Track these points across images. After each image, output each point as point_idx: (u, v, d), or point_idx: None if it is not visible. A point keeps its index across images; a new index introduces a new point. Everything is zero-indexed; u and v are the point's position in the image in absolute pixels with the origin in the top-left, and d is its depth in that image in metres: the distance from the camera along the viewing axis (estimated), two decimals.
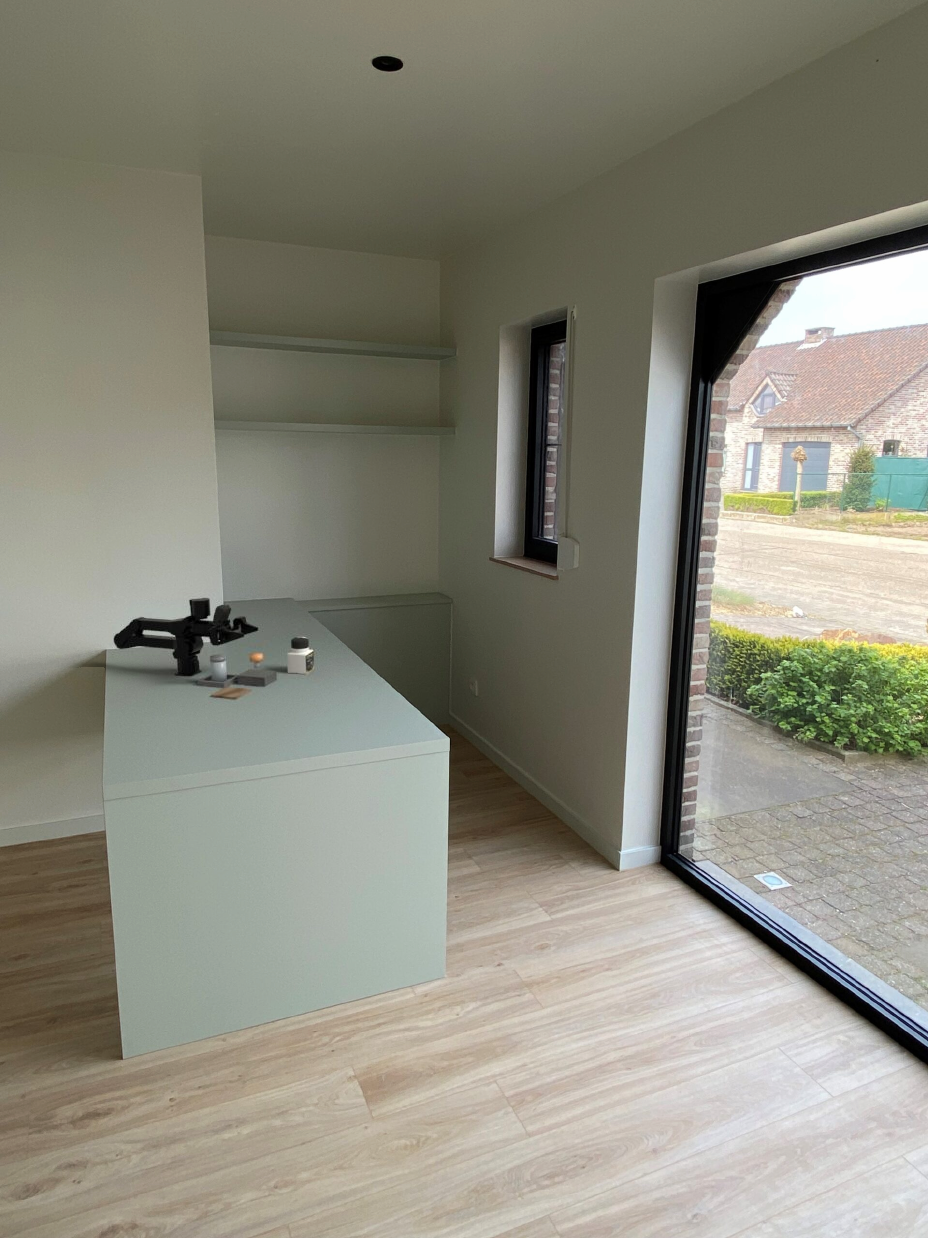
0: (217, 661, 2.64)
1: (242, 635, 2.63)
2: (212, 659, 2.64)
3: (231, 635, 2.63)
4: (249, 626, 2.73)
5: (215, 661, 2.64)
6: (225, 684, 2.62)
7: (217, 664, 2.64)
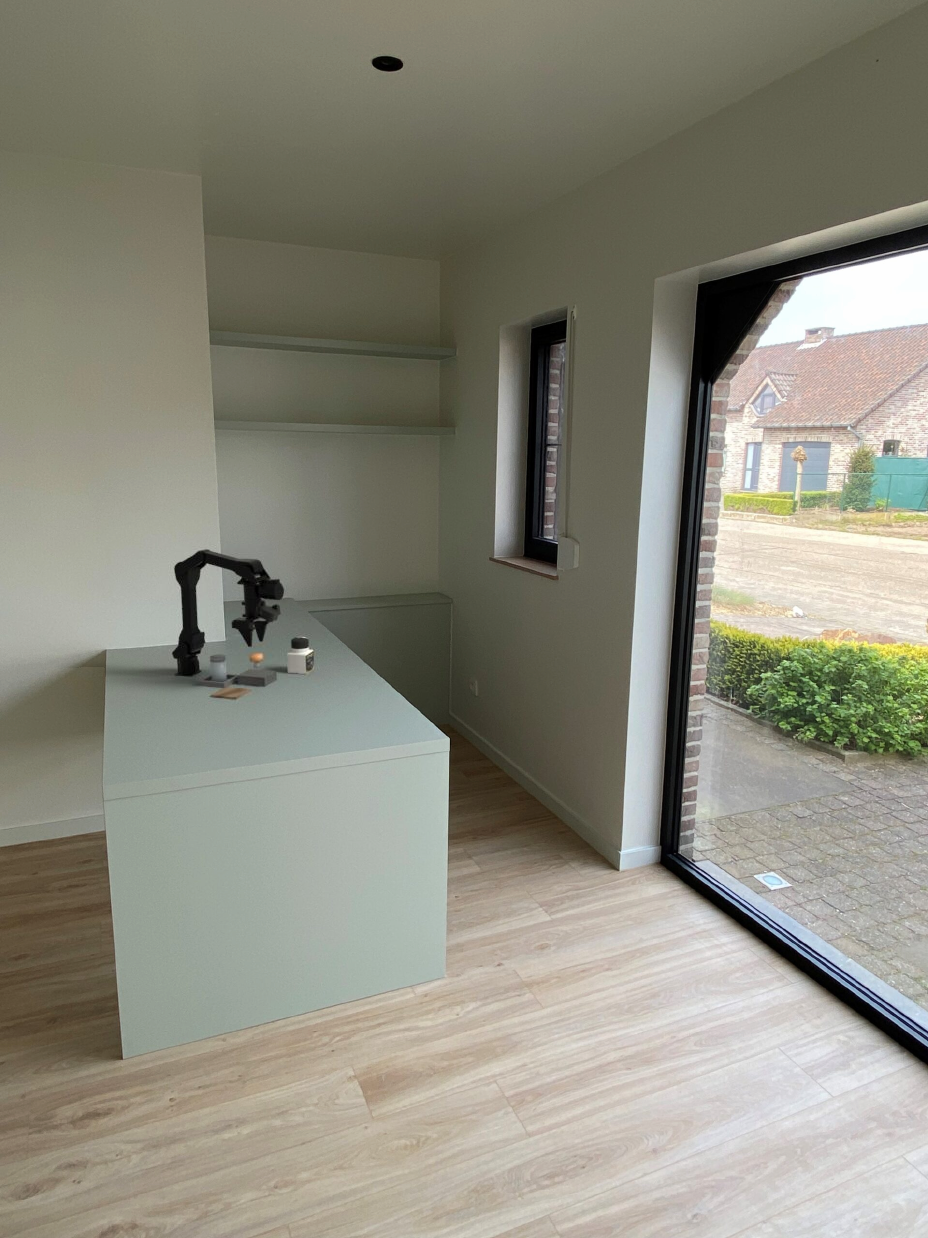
0: (217, 661, 2.64)
1: (249, 645, 2.62)
2: (212, 659, 2.64)
3: (247, 636, 2.60)
4: (262, 632, 2.68)
5: (215, 661, 2.64)
6: (225, 684, 2.62)
7: (217, 664, 2.64)
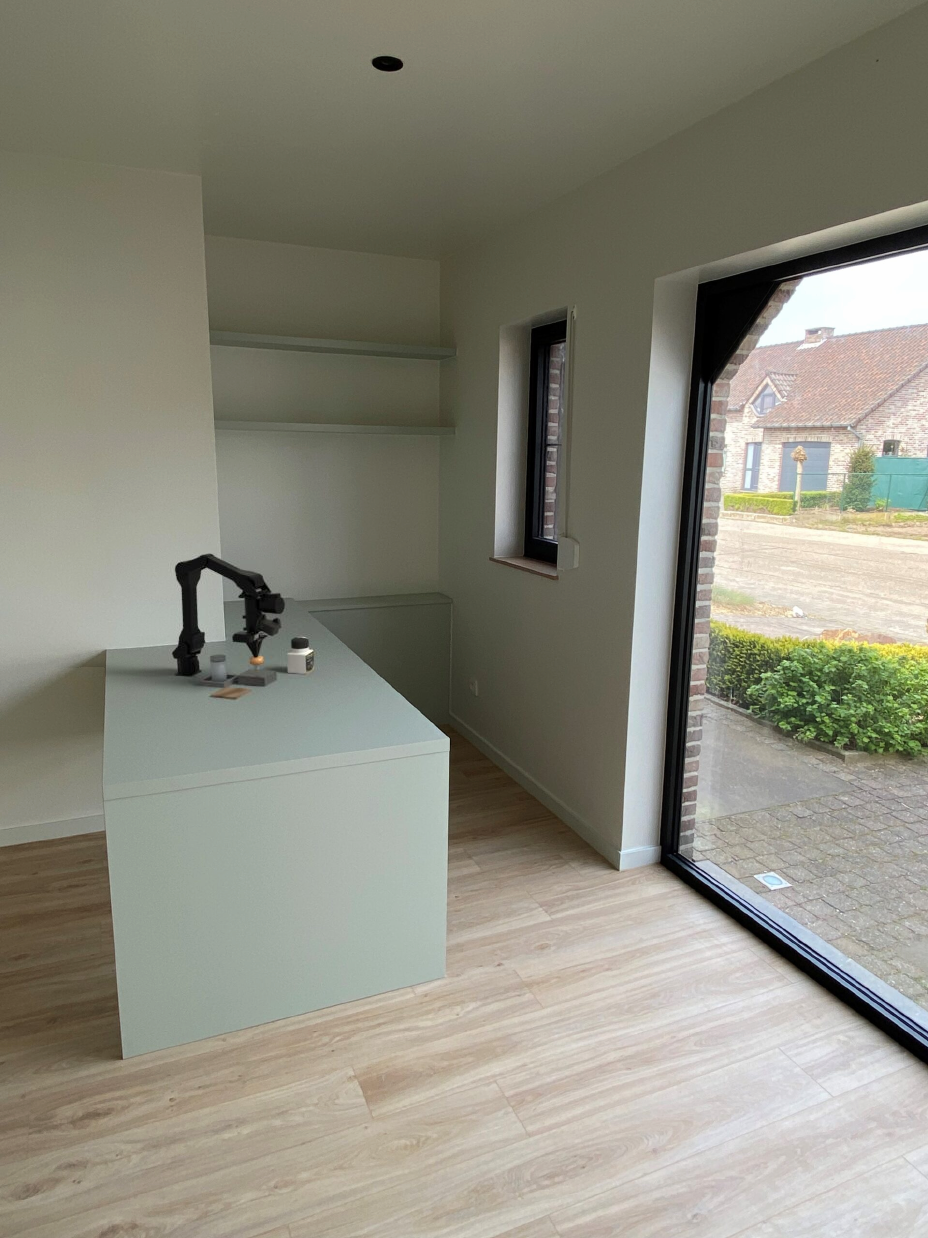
0: (217, 661, 2.64)
1: (255, 656, 2.66)
2: (212, 659, 2.64)
3: (253, 647, 2.65)
4: None
5: (215, 661, 2.64)
6: (225, 684, 2.62)
7: (217, 664, 2.64)
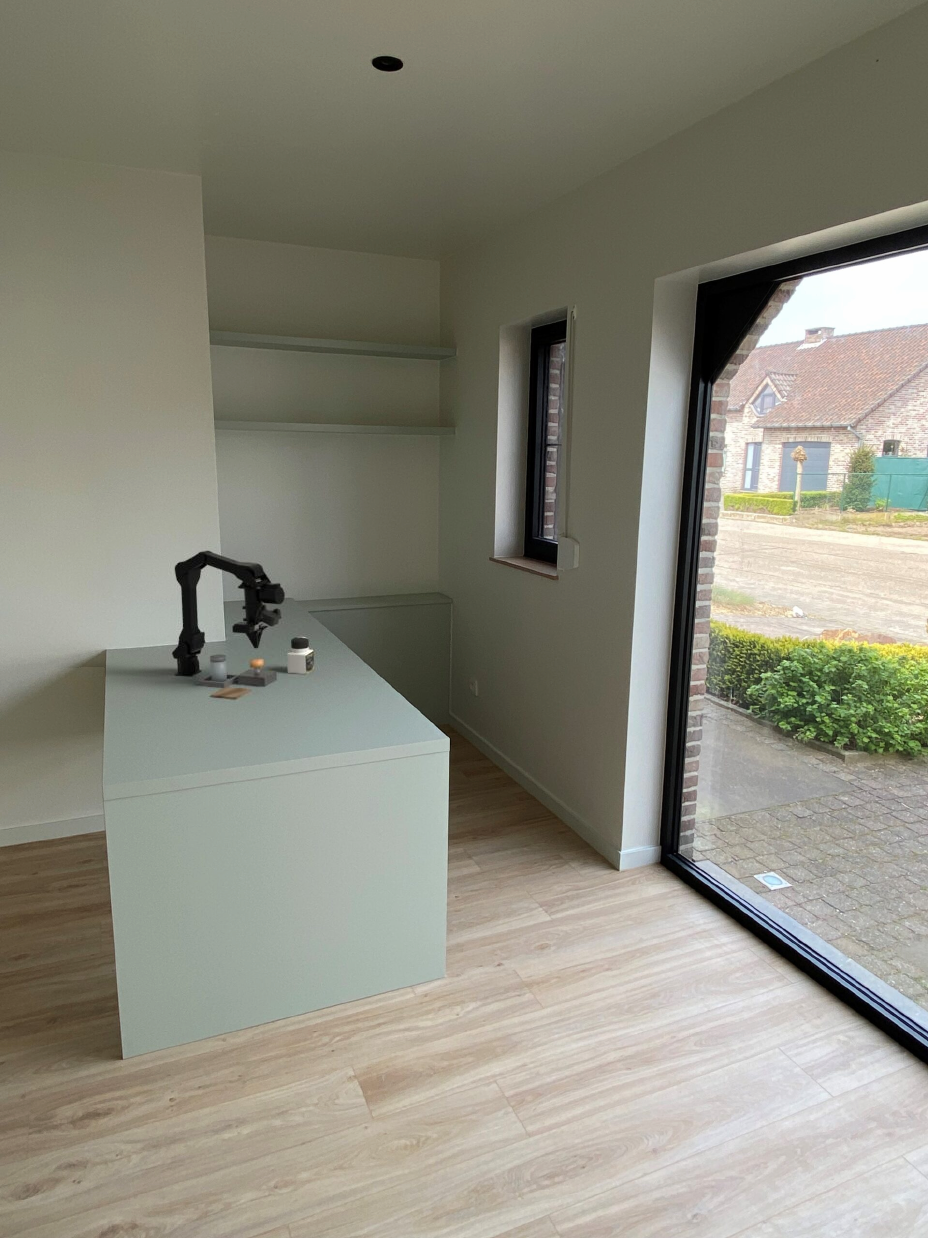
0: (217, 661, 2.64)
1: (255, 647, 2.65)
2: (212, 659, 2.64)
3: (253, 637, 2.64)
4: (258, 638, 2.65)
5: (215, 661, 2.64)
6: (225, 684, 2.62)
7: (217, 664, 2.64)
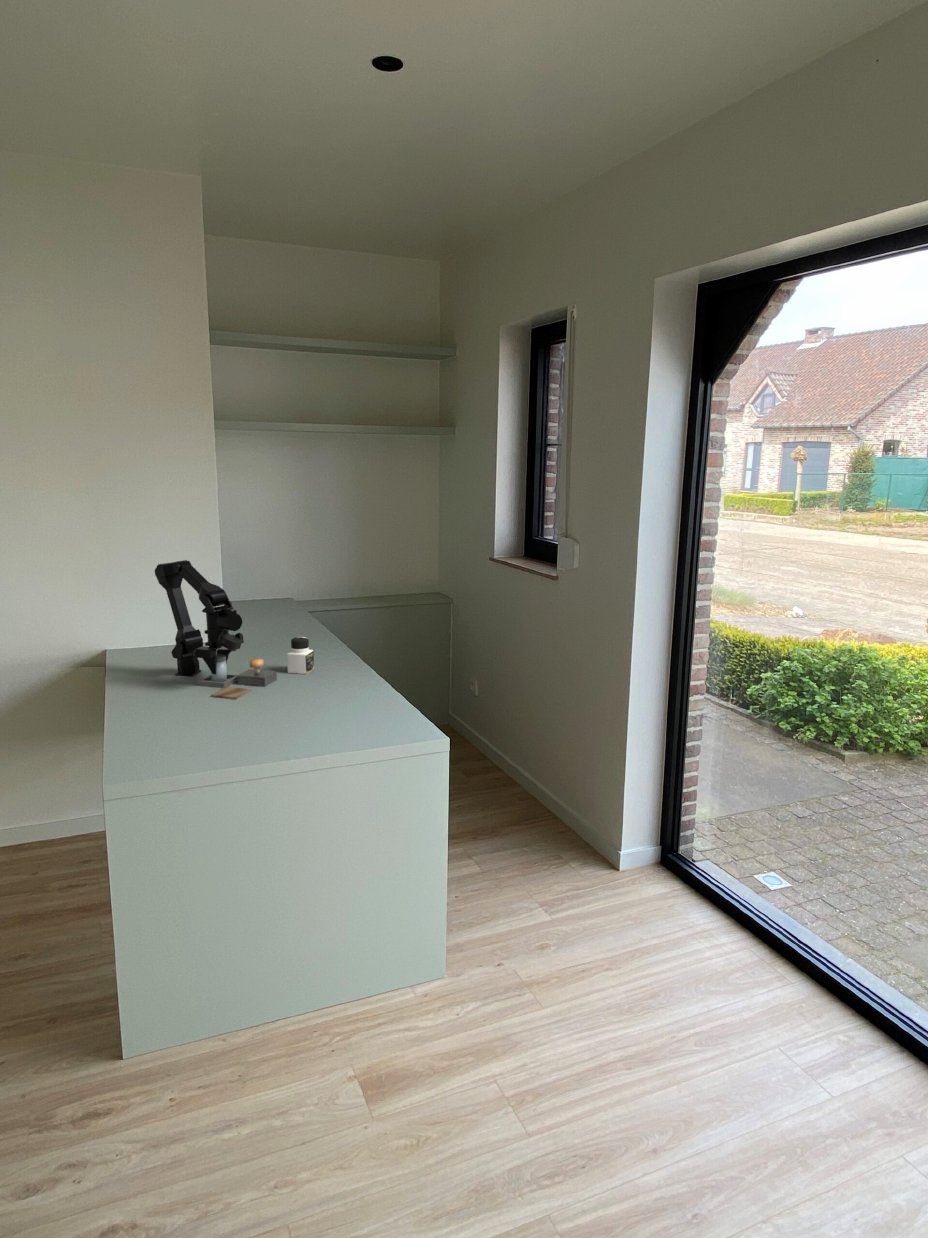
0: (217, 661, 2.64)
1: (213, 673, 2.64)
2: None
3: (211, 663, 2.63)
4: None
5: None
6: (225, 684, 2.62)
7: (217, 664, 2.64)
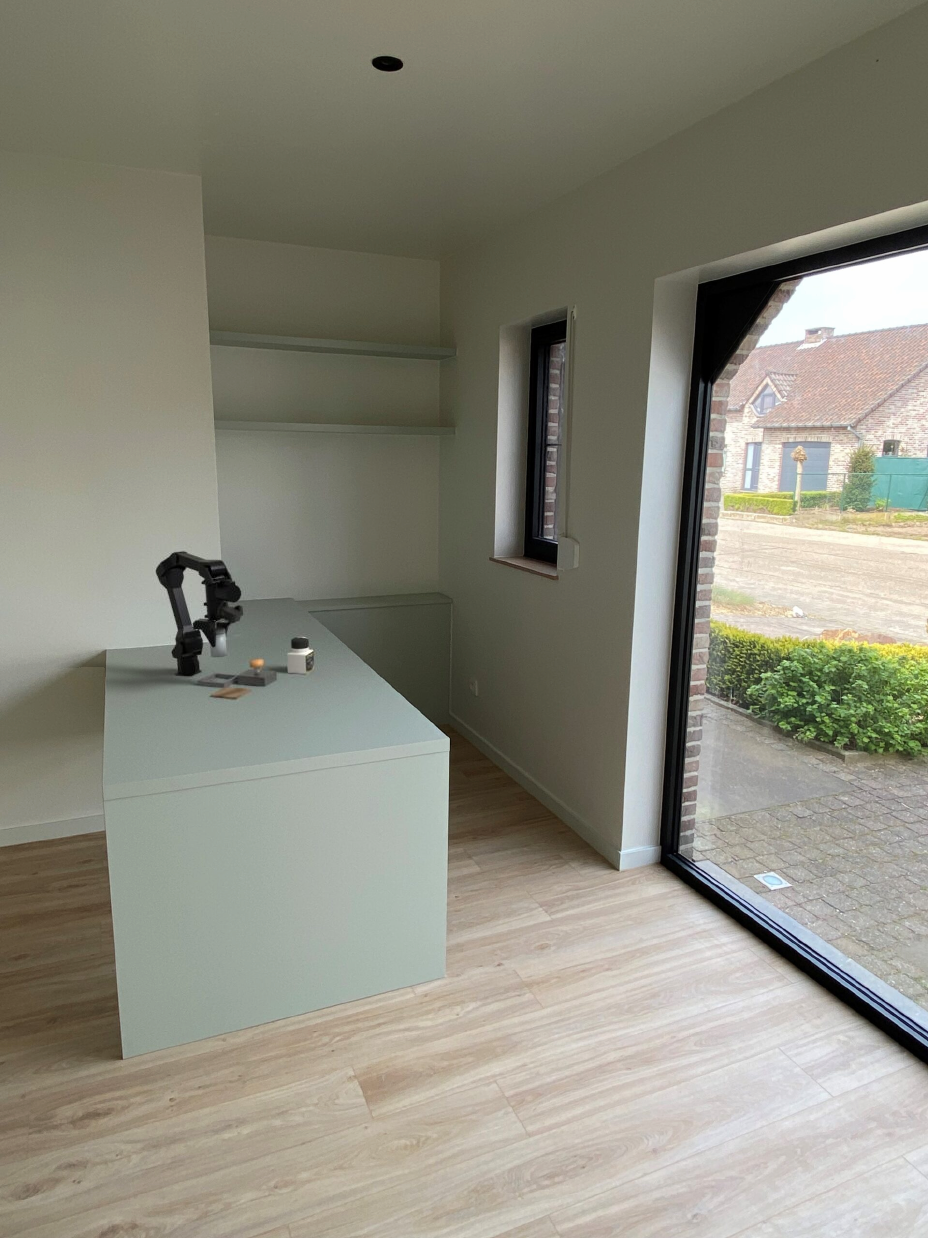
0: (216, 633, 2.61)
1: (213, 646, 2.61)
2: None
3: (210, 636, 2.60)
4: None
5: None
6: (225, 684, 2.62)
7: (216, 636, 2.61)
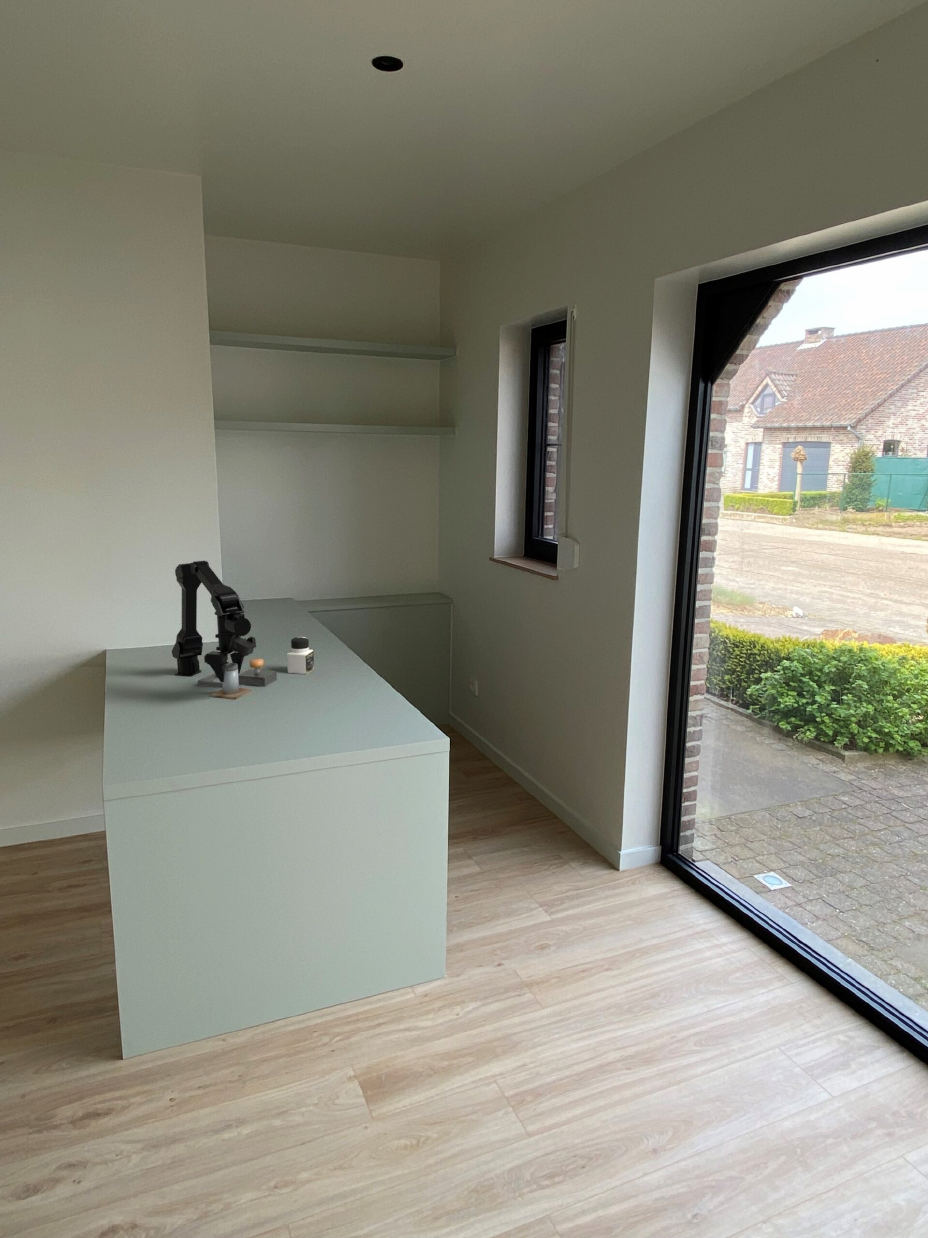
0: (229, 670, 2.52)
1: (221, 681, 2.50)
2: None
3: (219, 671, 2.48)
4: (239, 664, 2.58)
5: (227, 670, 2.52)
6: None
7: (228, 673, 2.52)
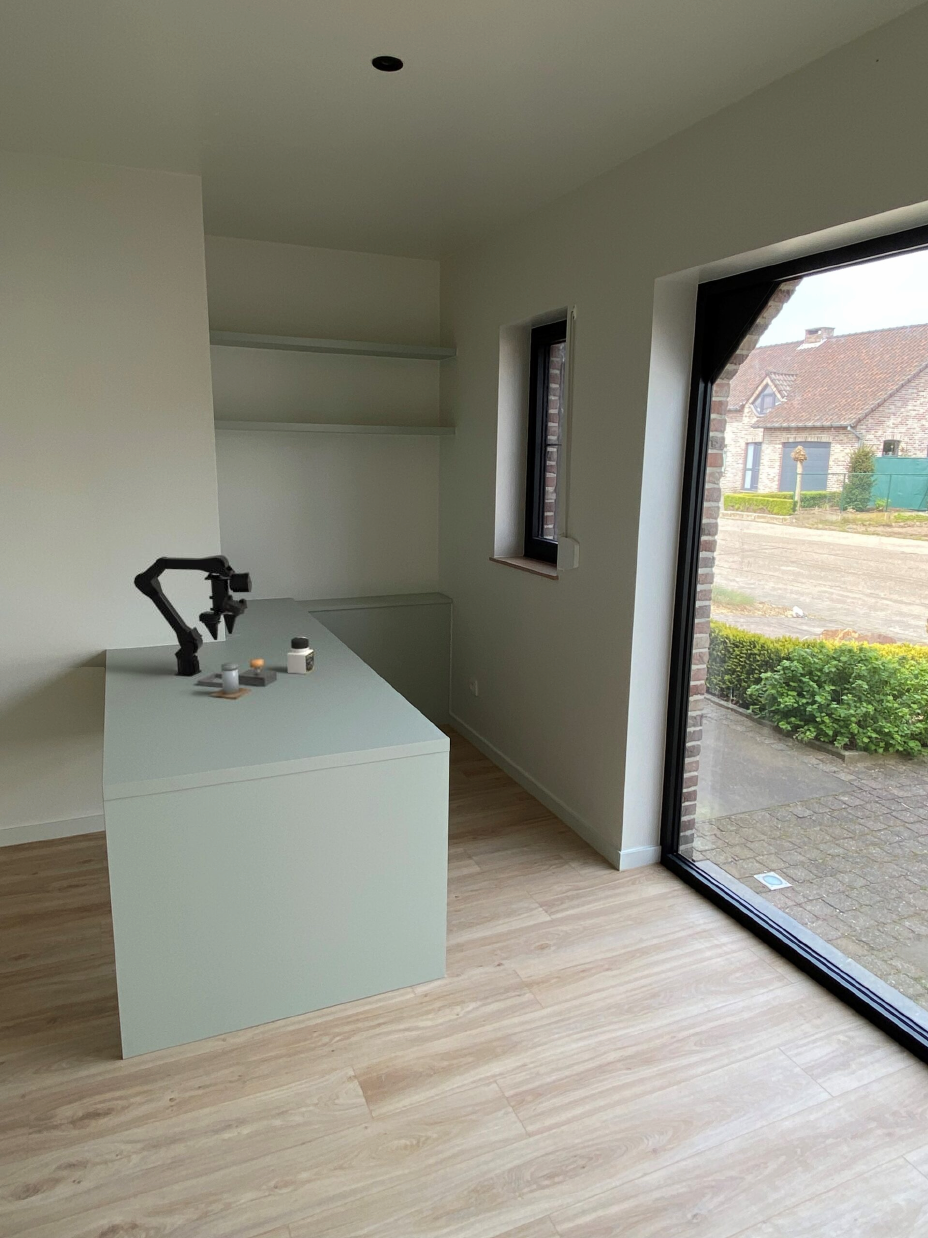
0: (228, 670, 2.52)
1: (215, 639, 2.71)
2: (223, 668, 2.52)
3: (212, 629, 2.69)
4: (231, 624, 2.79)
5: (226, 670, 2.52)
6: None
7: (228, 673, 2.52)
